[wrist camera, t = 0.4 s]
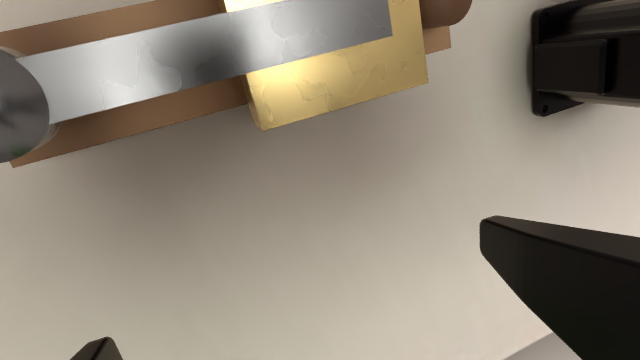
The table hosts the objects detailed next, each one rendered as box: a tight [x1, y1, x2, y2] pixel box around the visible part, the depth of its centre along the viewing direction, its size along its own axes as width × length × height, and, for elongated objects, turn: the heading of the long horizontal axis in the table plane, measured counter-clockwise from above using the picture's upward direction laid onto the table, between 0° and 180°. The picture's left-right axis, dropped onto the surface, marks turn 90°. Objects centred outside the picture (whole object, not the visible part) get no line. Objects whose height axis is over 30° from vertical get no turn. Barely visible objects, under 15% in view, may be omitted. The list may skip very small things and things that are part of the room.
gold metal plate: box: [217, 0, 428, 131], centre depth 14 cm, size 7×6×2 cm
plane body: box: [0, 0, 472, 168], centre depth 14 cm, size 19×4×7 cm, turn 103°
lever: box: [0, 0, 393, 163], centre depth 10 cm, size 12×3×1 cm, turn 103°
